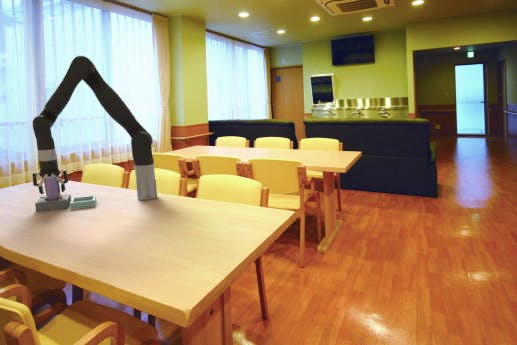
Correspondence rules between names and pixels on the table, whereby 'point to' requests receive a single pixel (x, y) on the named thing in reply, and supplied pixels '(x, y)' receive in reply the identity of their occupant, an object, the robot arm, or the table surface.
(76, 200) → the teal square frame
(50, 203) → the port
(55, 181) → the beverage can
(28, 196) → the table surface
